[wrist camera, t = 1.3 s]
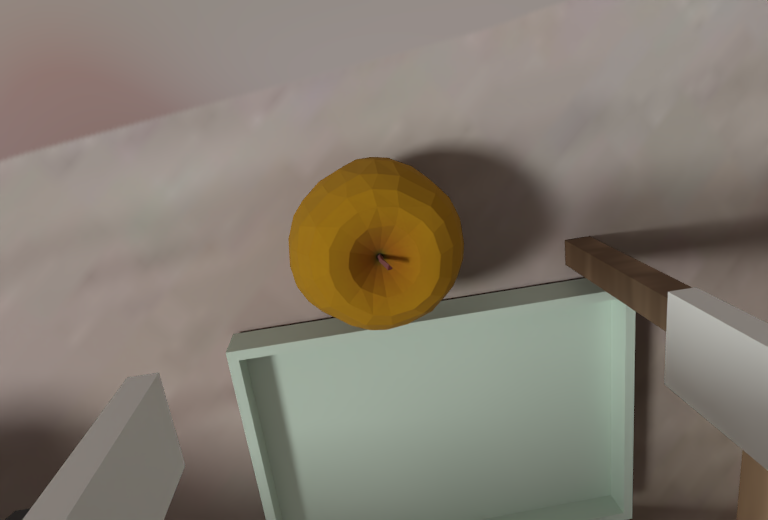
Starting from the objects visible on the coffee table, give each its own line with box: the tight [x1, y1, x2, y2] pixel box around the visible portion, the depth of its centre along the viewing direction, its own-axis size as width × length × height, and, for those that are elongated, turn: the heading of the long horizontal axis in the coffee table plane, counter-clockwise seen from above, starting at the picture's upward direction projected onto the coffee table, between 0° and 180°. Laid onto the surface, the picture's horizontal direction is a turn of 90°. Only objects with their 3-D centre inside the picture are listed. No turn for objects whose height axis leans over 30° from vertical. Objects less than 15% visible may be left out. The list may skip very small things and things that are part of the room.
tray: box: [226, 278, 636, 520], centre depth 34 cm, size 24×17×2 cm
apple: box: [289, 157, 464, 330], centre depth 27 cm, size 8×8×9 cm
